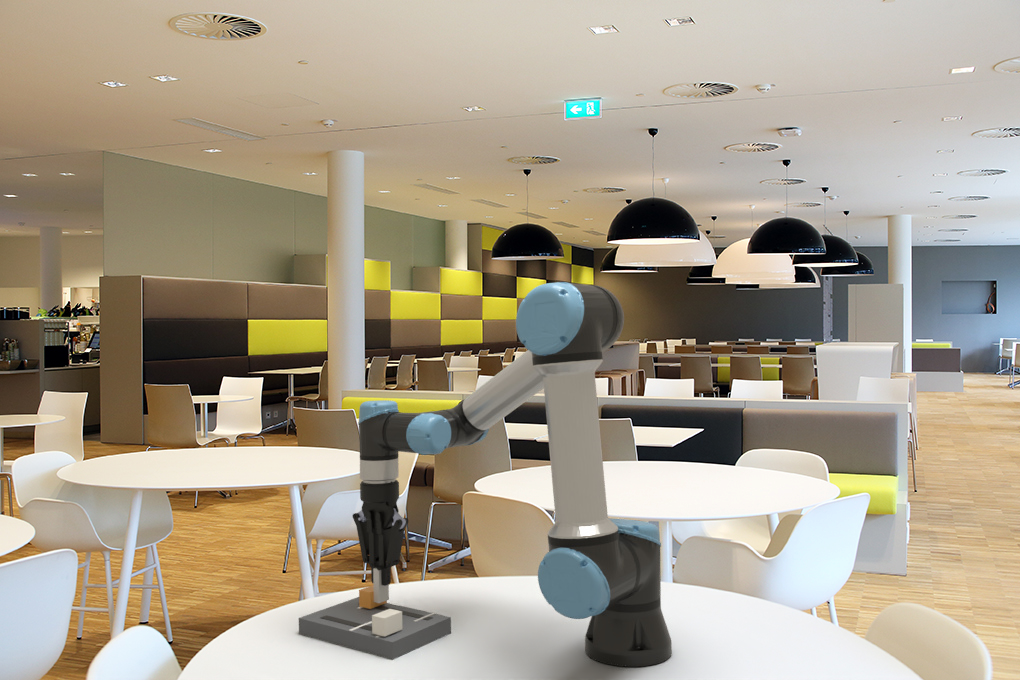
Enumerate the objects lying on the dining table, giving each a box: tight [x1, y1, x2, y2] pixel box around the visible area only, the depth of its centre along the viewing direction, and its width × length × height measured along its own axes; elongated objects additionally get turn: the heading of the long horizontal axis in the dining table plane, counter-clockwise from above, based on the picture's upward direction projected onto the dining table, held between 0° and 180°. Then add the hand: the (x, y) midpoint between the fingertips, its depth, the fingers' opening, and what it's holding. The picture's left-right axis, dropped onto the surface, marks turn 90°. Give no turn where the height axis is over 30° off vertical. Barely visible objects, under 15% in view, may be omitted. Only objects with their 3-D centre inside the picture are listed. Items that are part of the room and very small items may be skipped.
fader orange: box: [358, 584, 388, 609], centre depth 172 cm, size 3×5×3 cm, turn 145°
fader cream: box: [372, 609, 402, 637], centre depth 156 cm, size 3×5×3 cm, turn 145°
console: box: [298, 596, 452, 660], centre depth 165 cm, size 24×16×3 cm, turn 55°
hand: (381, 600), depth 171 cm, fingers closed
